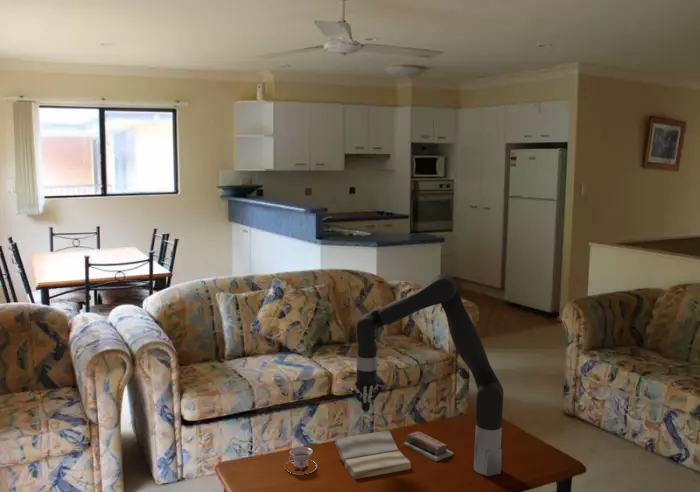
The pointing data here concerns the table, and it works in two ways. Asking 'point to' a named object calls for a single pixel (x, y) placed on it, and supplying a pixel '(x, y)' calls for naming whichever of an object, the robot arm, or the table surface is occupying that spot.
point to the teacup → (301, 458)
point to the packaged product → (427, 446)
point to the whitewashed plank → (365, 445)
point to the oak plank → (377, 464)
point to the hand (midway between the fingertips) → (365, 410)
